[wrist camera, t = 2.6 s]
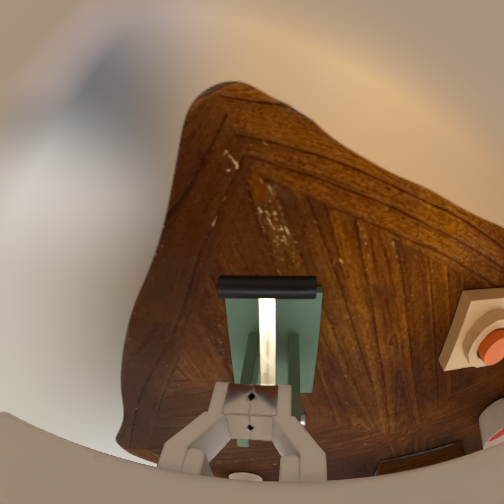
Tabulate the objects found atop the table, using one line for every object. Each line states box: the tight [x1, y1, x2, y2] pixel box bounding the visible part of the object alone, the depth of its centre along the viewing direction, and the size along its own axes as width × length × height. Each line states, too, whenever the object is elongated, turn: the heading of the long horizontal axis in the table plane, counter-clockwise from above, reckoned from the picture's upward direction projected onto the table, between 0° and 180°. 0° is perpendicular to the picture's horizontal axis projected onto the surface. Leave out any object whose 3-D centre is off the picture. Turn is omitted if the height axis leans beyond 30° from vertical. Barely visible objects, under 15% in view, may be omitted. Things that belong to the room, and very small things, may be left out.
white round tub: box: [479, 398, 504, 449], centre depth 33 cm, size 9×9×6 cm
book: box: [374, 441, 467, 476], centre depth 43 cm, size 23×18×5 cm
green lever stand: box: [225, 286, 323, 447], centre depth 26 cm, size 14×9×12 cm, turn 3°
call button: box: [438, 287, 504, 371], centre depth 27 cm, size 10×9×4 cm
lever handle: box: [217, 275, 317, 384], centre depth 21 cm, size 14×6×2 cm, turn 3°
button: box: [478, 328, 504, 365], centre depth 25 cm, size 4×4×2 cm
